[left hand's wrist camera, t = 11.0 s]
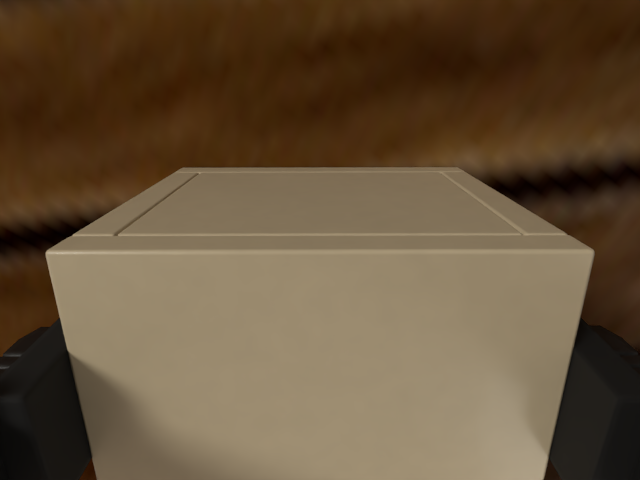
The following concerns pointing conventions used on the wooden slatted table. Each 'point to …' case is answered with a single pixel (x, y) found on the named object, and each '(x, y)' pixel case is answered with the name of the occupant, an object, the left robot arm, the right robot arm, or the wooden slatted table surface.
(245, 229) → the cabinet
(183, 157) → the wooden slatted table surface
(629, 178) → the wooden slatted table surface
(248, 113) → the wooden slatted table surface
